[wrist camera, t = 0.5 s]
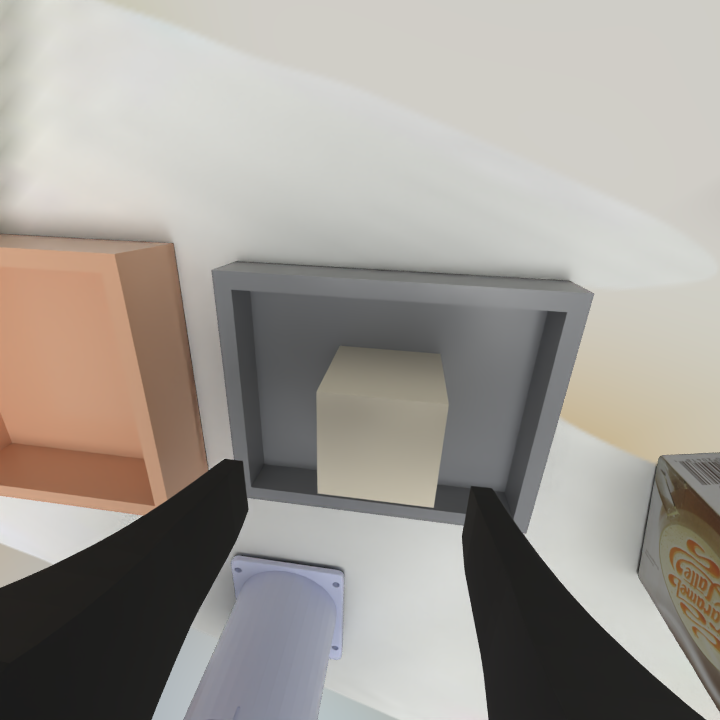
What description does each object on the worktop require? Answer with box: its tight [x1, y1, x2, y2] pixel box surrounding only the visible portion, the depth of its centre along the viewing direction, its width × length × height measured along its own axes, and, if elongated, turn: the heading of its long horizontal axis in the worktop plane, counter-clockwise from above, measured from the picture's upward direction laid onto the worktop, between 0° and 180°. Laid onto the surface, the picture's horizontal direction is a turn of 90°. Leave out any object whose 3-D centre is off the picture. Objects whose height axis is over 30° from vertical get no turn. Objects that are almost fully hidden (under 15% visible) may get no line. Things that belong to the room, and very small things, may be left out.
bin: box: [0, 234, 208, 515], centre depth 20 cm, size 14×14×4 cm
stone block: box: [316, 346, 449, 508], centre depth 18 cm, size 5×5×5 cm
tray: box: [212, 261, 594, 533], centre depth 19 cm, size 13×16×2 cm
